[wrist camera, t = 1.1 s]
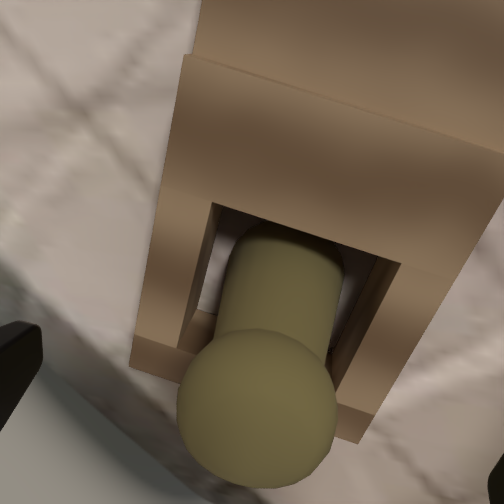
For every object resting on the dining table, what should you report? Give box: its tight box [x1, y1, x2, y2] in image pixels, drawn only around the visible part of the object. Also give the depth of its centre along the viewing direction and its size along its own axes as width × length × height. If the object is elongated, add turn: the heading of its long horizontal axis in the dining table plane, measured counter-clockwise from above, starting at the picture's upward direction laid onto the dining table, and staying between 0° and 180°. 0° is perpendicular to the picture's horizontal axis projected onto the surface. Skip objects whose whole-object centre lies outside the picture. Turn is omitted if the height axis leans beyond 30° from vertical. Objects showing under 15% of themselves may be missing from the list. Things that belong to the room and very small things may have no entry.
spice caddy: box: [129, 0, 504, 444], centre depth 16 cm, size 30×12×4 cm, turn 164°
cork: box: [177, 221, 345, 488], centre depth 17 cm, size 6×6×11 cm
